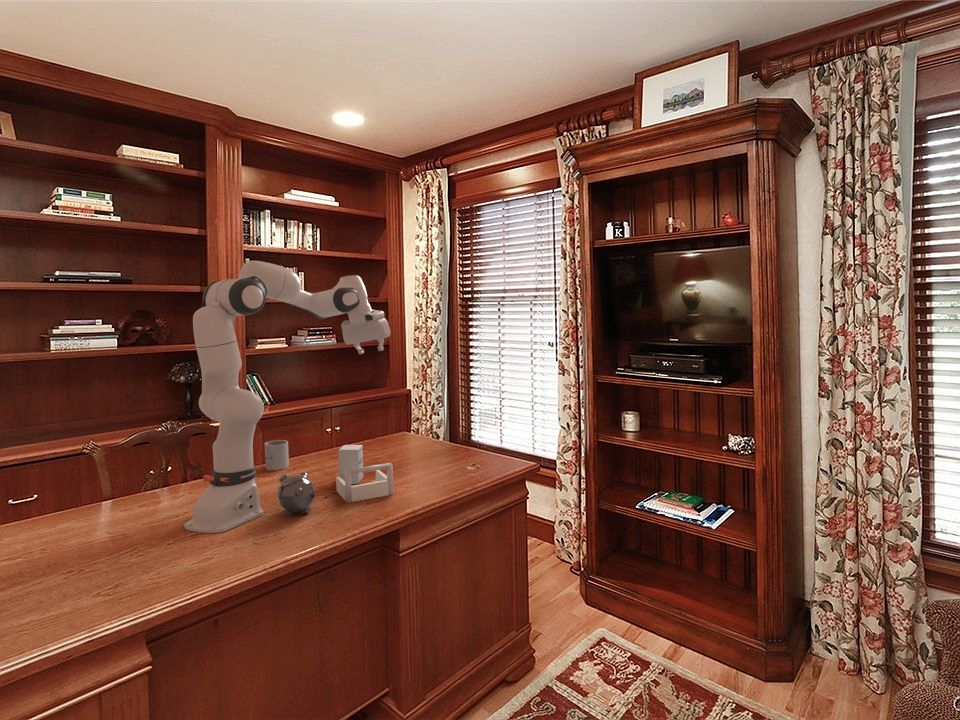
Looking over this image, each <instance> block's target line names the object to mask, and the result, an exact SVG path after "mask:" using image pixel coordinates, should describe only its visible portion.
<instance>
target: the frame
mask: <svg viewBox="0 0 960 720" xmlns="http://www.w3.org/2000/svg"><path fill="white" fill-rule="evenodd" d="M393 468H394V467H393V463H392V462H389V463H388V462H387V463H383V464H374V465H369V466H363V467H361V468H355V469H349V470H347V471H346V472H345V481H344V480H343V479H342V478H341V477H340V476H339V475H338V476H335V482H336V483H335V487H336V488H335V489H336V492H337V493H338V494H339V496H340V497H341V496H342V497H343V498H342V497H341V498H342V499H343V500H344V501H345V503H346V504H352V503H355V501H356V502H360V500H361V501H365V499H366V500H370V499H371V498H372V499H377V498H381V497H388V496H393V495H394V469H393ZM381 470H386V474H385V473H384V472H382V471H381ZM373 471H375V481H373V482H372V481H371V482H367V483H361V484H360V483H359V484H354V485H353V484H351V474H355V473H361V472H363V473H367V472H373ZM376 497H377V498H376ZM372 499H371V500H372ZM351 502H352V503H351Z"/></svg>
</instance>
